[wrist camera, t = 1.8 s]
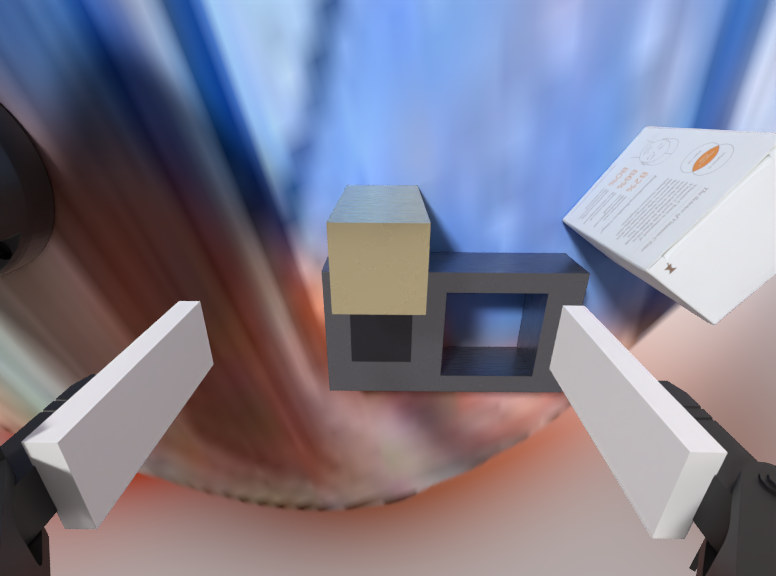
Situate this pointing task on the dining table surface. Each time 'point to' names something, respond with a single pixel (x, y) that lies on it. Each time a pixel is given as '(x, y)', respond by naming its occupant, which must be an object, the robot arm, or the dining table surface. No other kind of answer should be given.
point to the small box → (688, 215)
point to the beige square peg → (379, 251)
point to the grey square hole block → (425, 332)
